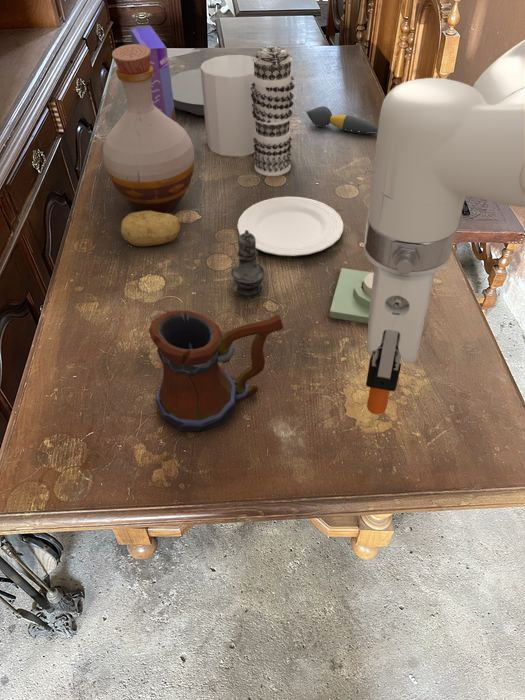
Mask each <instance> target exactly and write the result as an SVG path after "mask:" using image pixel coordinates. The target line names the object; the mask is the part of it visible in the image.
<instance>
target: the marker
mask: <svg viewBox="0 0 525 700" xmlns="http://www.w3.org/2000/svg"><path fill="white" fill-rule="evenodd" d="M381 353H382V351H379V354H378V356H381ZM395 355H396V354H395ZM395 355H394V359H395ZM389 396H390V391H388V390H383V389H377V388H371V387H369V392H368V398H367V404H366V409H367V410H368V412H370V413H371V414H373V415H382V414H384V413H385V412H386V410H387V407H388V406H387V405H388V401H389Z"/></svg>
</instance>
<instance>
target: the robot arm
mask: <svg viewBox="0 0 525 700" xmlns="http://www.w3.org/2000/svg"><path fill="white" fill-rule="evenodd" d="M377 128H378V133H376V135H377V136H376V143H375V149H374V150H375V151H374V159H373V168H372V177H371V185H370V191H369V200H368V208H367V217H366V225H365V232H364V233H365V234H364V243H363V253H364V254H365V257H366V259H367V260H368V261H369V262H370V263H371V264H372V265H374V268H373V273H374V275H373V283H372V291H371V300H370V310H369V322H368V324H367V338H366V353H367V354H368V355H369V356H370V358H369V362H368V370H367V376H366V382H365V386H366V387H368V388H370V387H371V388H377V389H383V390H388V391H389V392H395V391H396V390H397V386H398V381H399V377H400V372H401V367H402V363H401V360H402V362H403V363H407V364H413V363H415V362H416V361H417V360H418V355H419V349H420V345H421V341H422V336H423V332H424V327H425V323H426V319H427V314H428V310H429V304H430V300H431V295H432V291H433V284H434V279H435V273H437V272H439V271H441V270H442V269H444V268H445V267H446V266H447V264H448V263H449V261H450V258H451V254H452V250H453V246H454V243H455V239H456V236H457V231H458V227H459V223H460V219H461V216H462V212H463V209H464V204H465V201H466V198H467V197H468V198H473V199H477V200H478V199H479V200H483V201H488V202H492V203H497V204H501V205H506V206H511V207H512V206H513V207H517V208H525V39H523V40H522V41H520V42H519V43H517V44H516V45H514V46H513V47H511V48H510V49H509V50H507V51H506V52H504V53H503V54H502V55H500V56H499V57H498V58H497V59H496V60H494V61H493V62H492V63H491V64H490V65H489V66H488V67H487V68H486V69H485V70H484V71H483V72H482V73H481V75H480V76H479V77H478V79H476V81H475V82H474V84H473V86H471V85H469V84H467V83H464V82H461V81H458V80H453V79H449V78H440V77H425V78H416V79H412V80H408V81H404V82H401V83H399V84H398V85H396V86H394V87H393V88H392V89H390V90H389V92H388V93H387V94H386V96H385V97H384V99H383V101H382V105H381V107H380V114H379V119H378V127H377ZM379 351H382V353H381V356H378V354H379ZM395 354H396V355H395ZM394 355H395V359H394Z"/></svg>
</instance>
